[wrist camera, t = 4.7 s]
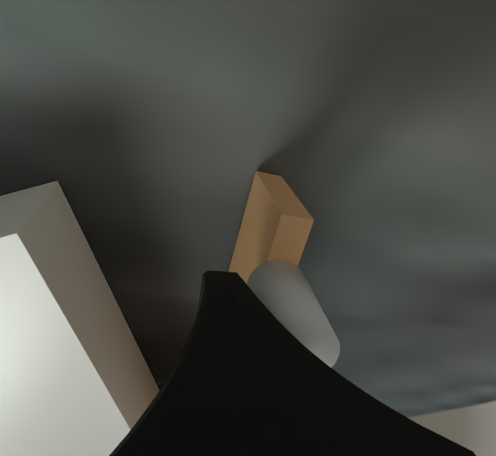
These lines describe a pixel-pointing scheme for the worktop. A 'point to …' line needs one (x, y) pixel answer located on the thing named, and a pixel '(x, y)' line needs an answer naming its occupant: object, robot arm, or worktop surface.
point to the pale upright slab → (61, 337)
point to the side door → (282, 263)
